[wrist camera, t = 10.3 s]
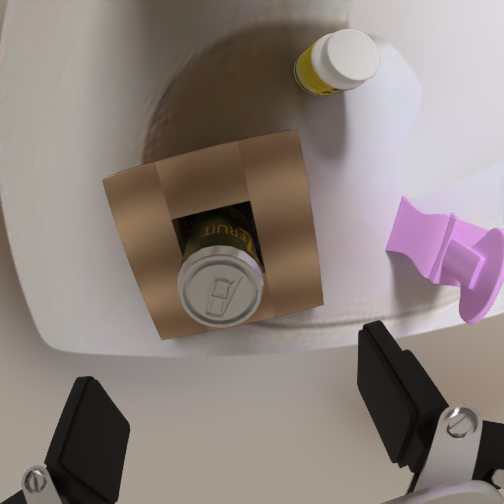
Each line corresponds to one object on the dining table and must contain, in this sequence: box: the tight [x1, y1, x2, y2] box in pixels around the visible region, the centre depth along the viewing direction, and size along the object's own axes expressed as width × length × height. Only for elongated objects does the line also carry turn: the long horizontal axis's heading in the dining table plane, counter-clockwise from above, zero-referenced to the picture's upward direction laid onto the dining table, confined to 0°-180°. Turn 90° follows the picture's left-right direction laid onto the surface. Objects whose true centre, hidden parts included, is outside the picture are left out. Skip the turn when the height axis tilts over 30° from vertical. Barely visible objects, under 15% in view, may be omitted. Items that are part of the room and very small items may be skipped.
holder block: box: [102, 130, 324, 340], centre depth 27 cm, size 16×16×4 cm
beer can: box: [177, 206, 264, 328], centre depth 24 cm, size 5×5×12 cm
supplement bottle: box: [294, 29, 380, 96], centre depth 20 cm, size 5×5×8 cm
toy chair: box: [386, 196, 504, 324], centre depth 24 cm, size 8×9×15 cm
